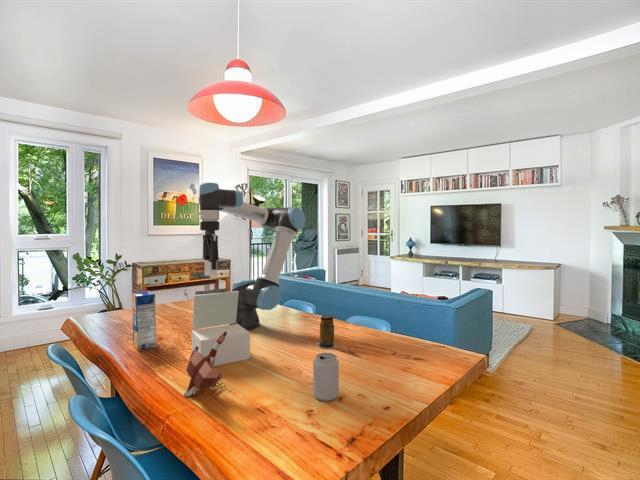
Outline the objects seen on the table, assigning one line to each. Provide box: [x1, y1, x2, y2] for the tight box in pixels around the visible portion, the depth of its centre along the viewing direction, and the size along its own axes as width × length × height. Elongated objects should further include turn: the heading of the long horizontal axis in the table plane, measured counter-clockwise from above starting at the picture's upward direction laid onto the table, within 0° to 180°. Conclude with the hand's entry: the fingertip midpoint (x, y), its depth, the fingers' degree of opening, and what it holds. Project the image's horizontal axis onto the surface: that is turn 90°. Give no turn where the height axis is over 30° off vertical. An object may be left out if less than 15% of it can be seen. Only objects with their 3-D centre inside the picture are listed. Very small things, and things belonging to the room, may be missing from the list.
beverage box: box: [131, 290, 157, 352], centre depth 146 cm, size 7×11×22 cm, turn 36°
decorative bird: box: [183, 332, 227, 398], centre depth 106 cm, size 28×18×15 cm, turn 33°
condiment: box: [316, 314, 339, 350], centre depth 147 cm, size 7×8×12 cm
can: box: [312, 352, 340, 402], centre depth 102 cm, size 8×8×12 cm
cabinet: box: [191, 324, 251, 367], centre depth 133 cm, size 18×14×10 cm
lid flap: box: [192, 287, 239, 330], centre depth 141 cm, size 17×14×9 cm
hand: (210, 276), depth 145 cm, fingers open, 7 cm apart
